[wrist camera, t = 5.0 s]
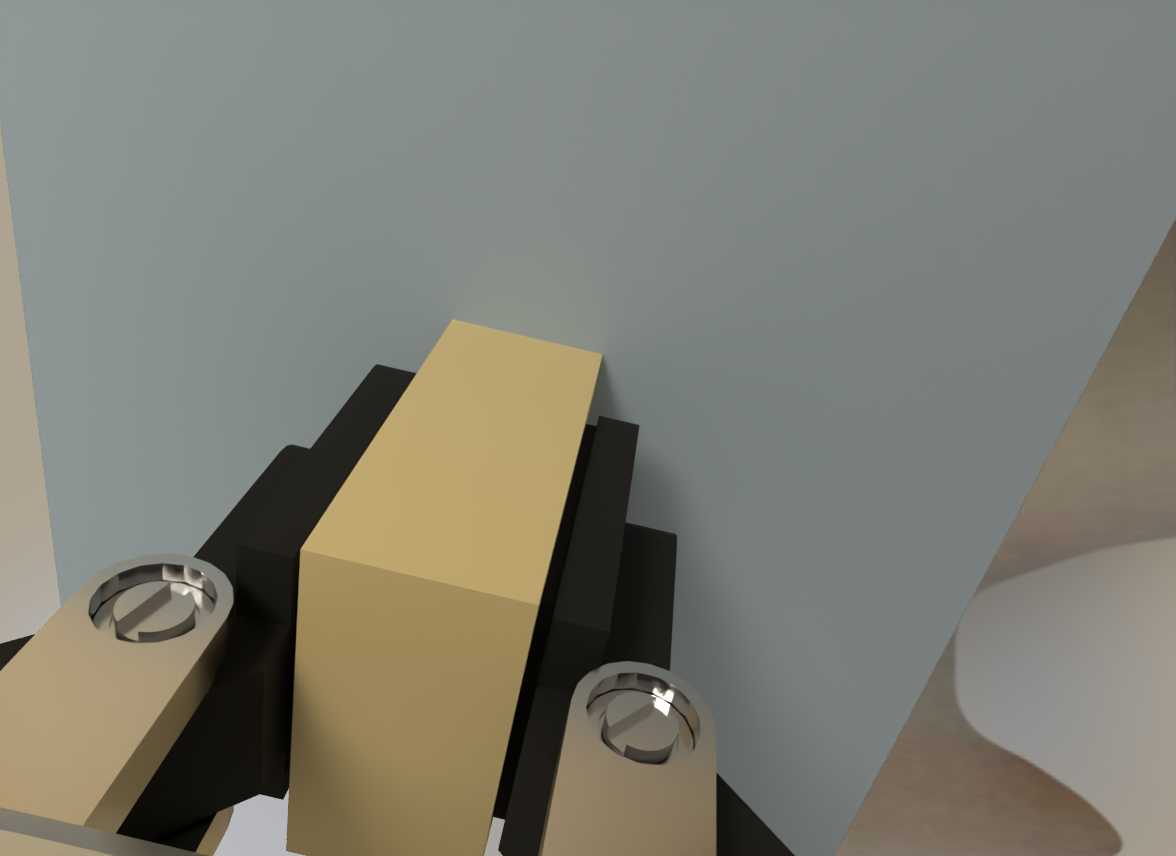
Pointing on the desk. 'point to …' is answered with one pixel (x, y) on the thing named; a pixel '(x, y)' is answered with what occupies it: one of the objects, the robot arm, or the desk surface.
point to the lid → (581, 336)
